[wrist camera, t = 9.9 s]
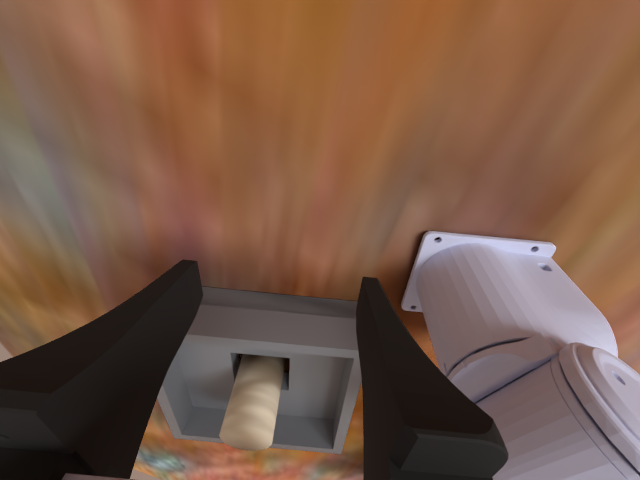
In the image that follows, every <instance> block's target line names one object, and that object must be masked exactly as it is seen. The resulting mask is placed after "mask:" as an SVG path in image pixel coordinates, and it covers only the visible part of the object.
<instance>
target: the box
mask: <svg viewBox="0 0 640 480" xmlns="http://www.w3.org/2000/svg"><path fill="white" fill-rule="evenodd" d="M202 291H203V298H202V301H201V304H200V306H199V309H198V312H197V314H196V317H195V319H194V321H193V323H192V325H191V327H190V329H189V331H188V332H187V334H186V336H185V338H184V340H183V342H182V344H181V346H180V348H179V350H178V352H177V353H176V355H175V357H174V359H173V361H172V363H171V365H170V367H169V369H168V372H167V374H166V376H165V379H164V381H163V384H162V386H161V389H160V391H159V394H158V397H157V399H158V401H159V404H160V406H161V408H162V411H163V413H164V415H165V418H166V420H167V423H168V425H169V427H170V430H171V432H172V434H173V437H174V438H176V439H186V440H197V441H207V442H218V443H224V442H223V441H222V440H221V439H220V437H219V434H220V431H221V427H222V424H223V420H224V417H225V413H226V410H227V407H228V403H229V400H230V396H231V393H232V389H233V386H234V383H235V379H236V376H237V372H238V369H239V365H240V363H239V354H238V353H241V354H251V355H262V356H272V357H283V358H290V368H289V373H288V372H284V373H283V379H282V385H281V391H280V398H279V404H278V410H277V417H276V423H275V429H274V435H273V442H272V445H271V446H270V448H281V449H291V450H302V451H312V452H323V453H333V454H341V453H342V450H343V446H344V442H345V439H346V435H347V432H348V428H349V424H350V421H351V417H352V414H353V410H354V406H355V403H356V399H357V395H358V392H359V388H360V385H361V381H362V377H361V368H360V360H359V352H358V343H357V335H356V308H357V303H358V301H348V300H337V299H327V298H316V297H306V296H295V295H285V294H274V293H264V292H253V291H243V290H232V289H222V288H211V287H202Z"/></svg>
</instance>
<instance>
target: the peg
mask: <svg viewBox="0 0 640 480" xmlns="http://www.w3.org/2000/svg"><path fill="white" fill-rule="evenodd" d="M285 360H286V358H283V357H272V356H262V355H251V354H243V355H242V358H241V362H240V365H239V369H238V372H237V376H236V379H235V383H234V386H233V389H232V393H231V396H230V400H229V403H228V407H227V410H226V413H225V417H224V420H223V424H222V427H221V431H220V434H219V437H220V439H221V440H222V441H223V442H224V443H225V444H227V445H229V446H231V447H234V448H237V449H241V450H249V451H256V450H263V449H266V448H268V447H270V446H271V445H272V442H273V435H274V429H275V423H276V417H277V410H278V404H279V398H280V391H281V385H282V379H283V373H284V366H285Z"/></svg>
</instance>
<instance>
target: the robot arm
mask: <svg viewBox="0 0 640 480" xmlns="http://www.w3.org/2000/svg"><path fill="white" fill-rule="evenodd" d="M437 237H440V238H439V239H438V240H434V239H435V238H437ZM535 246H536V247H535ZM533 247H535V248H533ZM532 248H533V249H532ZM555 250H556V247H555V246H554V245H553V244H552V243H550V242H541V241H531V240H520V239H510V238H499V237H489V236H478V235H468V234H457V233H447V232H436V231H428V232H426V233H425V234H424V235H423V238H422V241H421V244H420V247H419V250H418V253H417V256H416V259H415V262H414V265H413V268H412V272H411V275H410V278H409V281H408V284H407V287H406V290H405V293H404V296H403V299H402V302H401V307H402V309H403V310H405V311H414V312H423V315H424V318H425V322H426V325H427V328H428V332H429V335H430V339H431V342H432V346H433V349H434V353H435V356H436V360H437V363H438V366H439V369H438V368H437V367H436V366H435V365H434V363H433V362H432V361H431V360H430V359H429V358H428V356H427V355H426V354H425V353H424V352H423V350H422V349H421V348H420V347H419V345H418V344H417V343H416V342H415V340H414V339H413V337H412V336H411V335H410V333H409V332H408V330H407V329H406V327H405V326H404V324H403V323H402V321H401V320H400V318H399V317H398V315H397V313H396V312H395V310H394V308H393V307H392V305H391V303H390V301H389V299H388V298H387V296H386V294H385V292H384V290H383V288H382V286H381V284H380V282H379V280H378V279H377V278H370V277H363V279H362V284H361V289H360V293H359V298H358V303H357V308H356V335H357V343H358V352H359V360H360V368H361V377H362V388H363V429H364V480H640V375H639V374H638V373H637V372H636V371H635V370H633V369H632V368H631V367H630V366H628V365H627V364H626V363H624V362H623V361H622V360H620V359H619V358H618V350H617V345H616V340H615V337H614V334H613V331H612V329H611V327H610V325H609V323H608V322H607V320H606V318H605V317H604V316H603V314H602V313H601V312H600V311H599V310H598V309H597V308H596V307H595V305H594V304H593V303H592V302H591V301H590V300H589V299H588V298H587V297H586V296H585V294H584V293H583V292H582V291H581V290H580V289H579V288H578V287H577V286H576V285H575V284H574V282H573V281H572V280H571V279H570V278H569V277H568V276H567V275H566V274H565V273H564V271H563V270H562V269H561V268H560V267H559V266H558V265H557V264H556V263H555V262H554V261H553V259H552V258H551V257H552V255H553V254H554V252H555ZM202 298H203V291H202V285H201V280H200V275H199V270H198V265H197V261H191V260H182V261H180V262H179V263H178V264H176V265H175V266H174V267H172V268H171V269H170V270H168V271H167V272H166V273H164V274H163V275H162V276H160V277H159V278H158V279H156V280H155V281H154V282H152V283H151V284H150V285H148V286H147V287H146V288H144V289H143V290H141V291H140V292H138V293H137V294H135V295H134V296H132V297H131V298H130V299H128V300H127V301H125V302H124V303H122V304H121V305H119V306H117V307H116V308H114V309H113V310H111V311H109V312H108V313H106V314H104V315H102V316H101V317H99V318H97V319H95V320H94V321H92V322H90V323H88V324H86V325H84V326H82V327H80V328H78V329H76V330H74V331H72V332H70V333H68V334H66V335H64V336H62V337H60V338H58V339H56V340H54V341H51V342H49V343H47V344H45V345H42V346H40V347H38V348H35V349H33V350H31V351H28V352H26V353H23V354H21V355H18V356H16V357H13V358H10V359H8V360H5V361H2V362H0V480H133V479H130V476H131V473H132V469H133V466H134V463H135V460H136V457H137V454H138V450H139V447H140V444H141V441H142V438H143V435H144V433H145V430H146V427H147V424H148V421H149V418H150V415H151V413H152V410H153V407H154V405H155V402H156V399H157V397H158V394H159V391H160V389H161V386H162V384H163V381H164V379H165V376H166V374H167V372H168V369H169V367H170V365H171V363H172V361H173V359H174V357H175V355H176V353H177V352H178V350H179V348H180V346H181V344H182V342H183V340H184V338H185V336H186V334H187V332H188V331H189V329H190V327H191V325H192V323H193V321H194V319H195V317H196V314H197V312H198V309H199V306H200V304H201V301H202ZM414 305H415V306H414Z"/></svg>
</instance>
